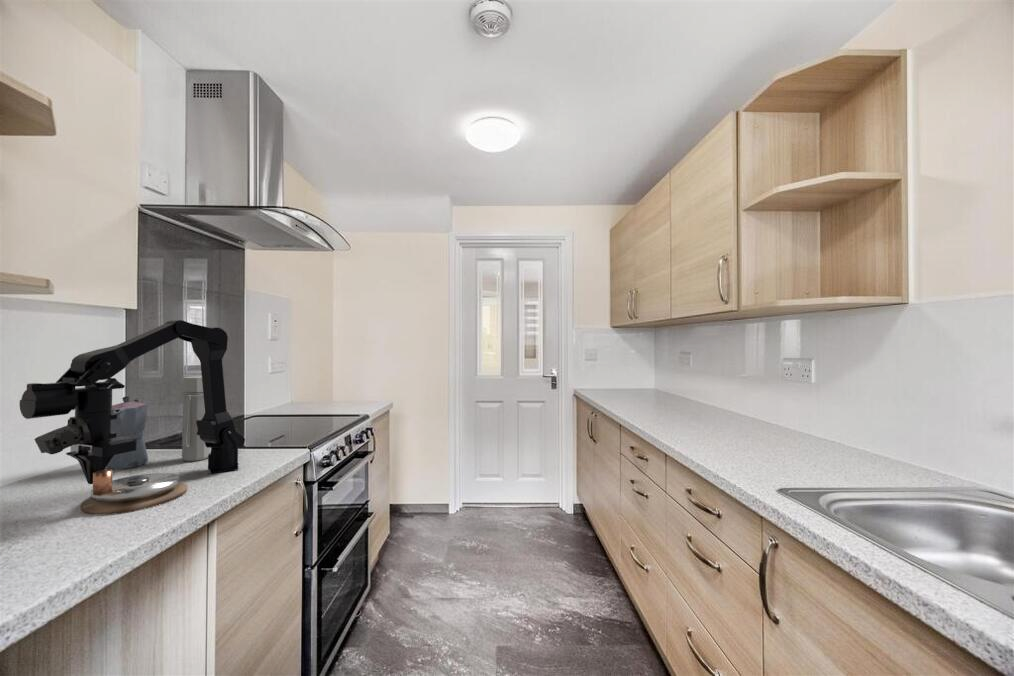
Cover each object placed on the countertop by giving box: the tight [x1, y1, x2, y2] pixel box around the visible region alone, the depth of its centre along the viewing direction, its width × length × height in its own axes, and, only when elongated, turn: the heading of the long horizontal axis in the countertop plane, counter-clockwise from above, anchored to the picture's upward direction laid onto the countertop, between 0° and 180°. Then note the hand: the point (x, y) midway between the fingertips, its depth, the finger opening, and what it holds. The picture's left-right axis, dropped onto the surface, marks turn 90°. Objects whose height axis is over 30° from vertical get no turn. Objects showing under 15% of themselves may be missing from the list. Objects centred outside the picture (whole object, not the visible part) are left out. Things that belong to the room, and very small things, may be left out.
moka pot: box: [106, 396, 149, 470], centre depth 121 cm, size 10×15×20 cm, turn 27°
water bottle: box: [180, 375, 211, 462], centre depth 127 cm, size 9×8×25 cm
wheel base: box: [80, 481, 188, 515], centre depth 95 cm, size 18×18×1 cm
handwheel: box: [90, 469, 180, 502], centre depth 95 cm, size 16×15×7 cm
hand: (92, 483), depth 90 cm, fingers closed
